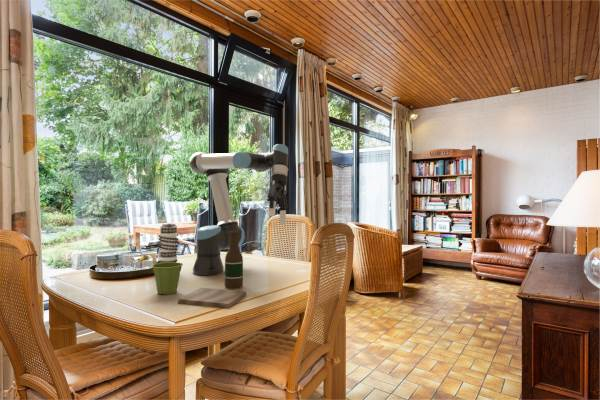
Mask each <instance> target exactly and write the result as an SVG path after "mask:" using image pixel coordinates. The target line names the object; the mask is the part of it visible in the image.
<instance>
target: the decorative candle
mask: <svg viewBox="0 0 600 400" xmlns="http://www.w3.org/2000/svg"><path fill="white" fill-rule="evenodd" d="M177 228H178V226H177V225H176V223H171V222H169V223H163V224H162V225H161V226H160V234H159V235H158V241H159V243H158V248H159V249H158V250H159V253H160V255H159V260H158V263H165V262H178V253H177V252H178V250H179V249H178V247H179V246H178V245H177V244H179V241H178V240H179V238H178V237H179V234H178V232H177V231H178V229H177Z"/></svg>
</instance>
